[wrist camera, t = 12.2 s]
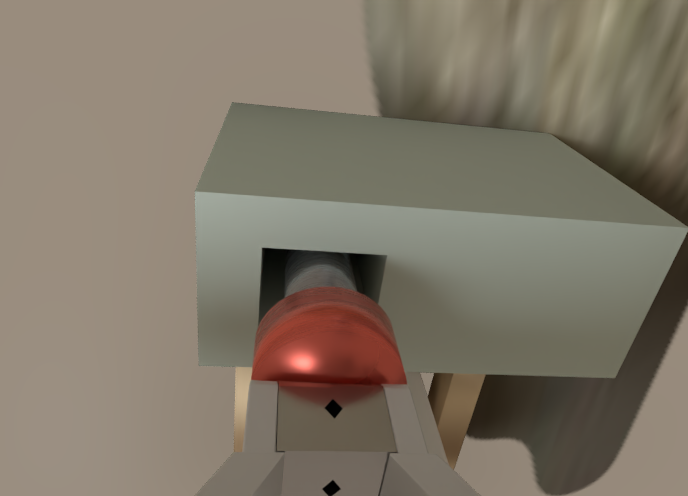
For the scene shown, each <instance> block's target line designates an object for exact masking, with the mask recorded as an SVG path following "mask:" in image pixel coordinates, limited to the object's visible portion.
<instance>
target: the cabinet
mask: <svg viewBox="0 0 688 496" xmlns="http://www.w3.org/2000/svg"><path fill="white" fill-rule="evenodd" d="M195 217H196V218H195V219H196V264H197V308H198V310H197V311H198V355H199V366H224V367H252V365H253V355H254V345H255V336H256V332H257V329H258V326H259V324H260V322H261V320H262V319H263V317H264V316H265V314H266V313H267V312H268V311H269V310H270V309H271V308H272V307H273V306H274V305H275V304H277V303H278V302H279V301H281V300H282V299H284V289H285V249H294V250H310V251H327V252H343V253H350V257H351V262H352V268H353V273H354V278H355V283H356V288H357V292H359V293H362V294H364V295H366V296H368V297H369V298H371V299H372V300H374V301H375V302H376V303H377V304H378V305H379V306H381V308H382V309H383V310H384V311H385V312H386V314H387V316H388V317H389V319H390V322H391V324H392V327H393V331H394V335H395V338H396V342H397V346H398V349H399V353H400V357H401V360H402V364H403V368H404V371H405V372H426V373H429V372H430V373H459V374H493V375H527V376H561V377H594V378H615V377H616V375H617V373H618V371H619V369H620V367H621V365H622V363H623V361H624V359H625V357H626V355H627V353H628V351H629V349H630V347H631V345H632V343H633V341H634V339H635V337H636V335H637V333H638V331H639V329H640V327H641V325H642V323H643V321H644V319H645V317H646V315H647V313H648V311H649V309H650V307H651V305H652V303H653V301H654V299H655V297H656V295H657V293H658V290H659V288H660V286H661V284H662V282H663V280H664V278H665V276H666V274H667V272H668V270H669V268H670V266H671V264H672V262H673V260H674V258H675V256H676V254H677V252H678V250H679V248H680V246H681V244H682V242H683V240H684V238H685V236H686V234H687V232H688V227H687V226H686V225H684V224H683V223H681V222H680V221H678V220H677V219H675V218H674V217H672V216H671V215H669V214H668V213H666V212H665V211H664V210H662V209H661V208H659V207H658V206H656V205H655V204H653V203H652V202H650V201H649V200H647V199H646V198H644V197H643V196H641V195H640V194H638V193H637V192H635V191H634V190H632V189H631V188H630V187H628V186H627V185H625V184H624V183H622V182H621V181H619V180H618V179H616V178H615V177H613V176H612V175H610V174H609V173H607V172H606V171H604V170H603V169H601V168H600V167H598V166H597V165H596V164H594V163H593V162H591V161H590V160H588V159H587V158H585V157H584V156H582V155H581V154H579V153H578V152H576V151H575V150H573V149H572V148H570V147H569V146H567V145H566V144H565V143H563V142H562V141H560V140H559V139H557V138H556V137H554V136H553V135H551V134H550V133H540V132H530V131H520V130H509V129H499V128H489V127H479V126H469V125H458V124H448V123H438V122H428V121H418V120H407V119H397V118H387V117H377V116H366V115H356V114H346V113H335V112H325V111H315V110H305V109H295V108H283V107H275V106H264V105H254V104H243V103H234V102H232V104H231V106H230V109H229V111H228V114H227V116H226V118H225V121H224V123H223V126H222V128H221V130H220V133H219V135H218V137H217V140H216V142H215V145H214V147H213V149H212V152H211V154H210V157H209V159H208V161H207V164H206V166H205V169H204V171H203V173H202V176H201V178H200V180H199V183H198V185H197V188H196V190H195Z"/></svg>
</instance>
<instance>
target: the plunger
mask: <svg viewBox="0 0 688 496" xmlns="http://www.w3.org/2000/svg"><path fill="white" fill-rule="evenodd" d="M251 380H261V381H277V382H278V381H291V382H311V383H342V384H380V385H381V384H407V380H406V375H405V371H404V368H403V364H402V360H401V357H400V353H399V349H398V346H397V342H396V338H395V335H394V331H393V327H392V324H391V322H390V319H389V317H388V316H387V314H386V312H385V311H384V310H383V309H382V308H381V306H379V305H378V304H377V303H376V302H375V301H374V300H372V299H371V298H369V297H368V296H366V295H364V294H362V293H359V292H357V288H356V283H355V278H354V273H353V268H352V262H351V257H350V253H343V252H327V251H310V250H294V249H285V289H284V299H282V300H281V301H279V302H278V303H277V304H275V305H274V306H273V307H272V308H271V309H270V310H269V311H268V312H267V313H266V314H265V316H264V317H263V319H262V320H261V322H260V324H259V326H258V329H257V332H256V336H255V345H254V355H253V365H252V375H251Z"/></svg>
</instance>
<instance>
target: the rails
mask: <svg viewBox="0 0 688 496" xmlns="http://www.w3.org/2000/svg"><path fill="white" fill-rule="evenodd" d="M251 375H252V367H236V382H235V384H236V385H235V424H234V425H235V426H234V452H242V450H243V440H244V430H245V421H246V411H247V401H248V391H249V385H250V381H251ZM485 375H486V374H459V373H434V376H433V380H432V383H431V387H430V391H429V395H428V400H429V403H430V406H431V409H432V412H433V416H434V419H435V422H436V425H437V428H438V432H439V435H440V438H441V441H442V444H443V448H444V451H445V454H446V457H447V461H448V464H449V466H450V467H451V468H452V469H453V470H454V468H455V465H456V461H457V458H458V456H459V453H460V450H461V446H462V444H463V441H464V438H465V435H466V432H467V429H468V426H469V423H470V420H471V417H472V414H473V411H474V408H475V405H476V402H477V399H478V396H479V393H480V390H481V387H482V384H483V381H484V378H485Z"/></svg>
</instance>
